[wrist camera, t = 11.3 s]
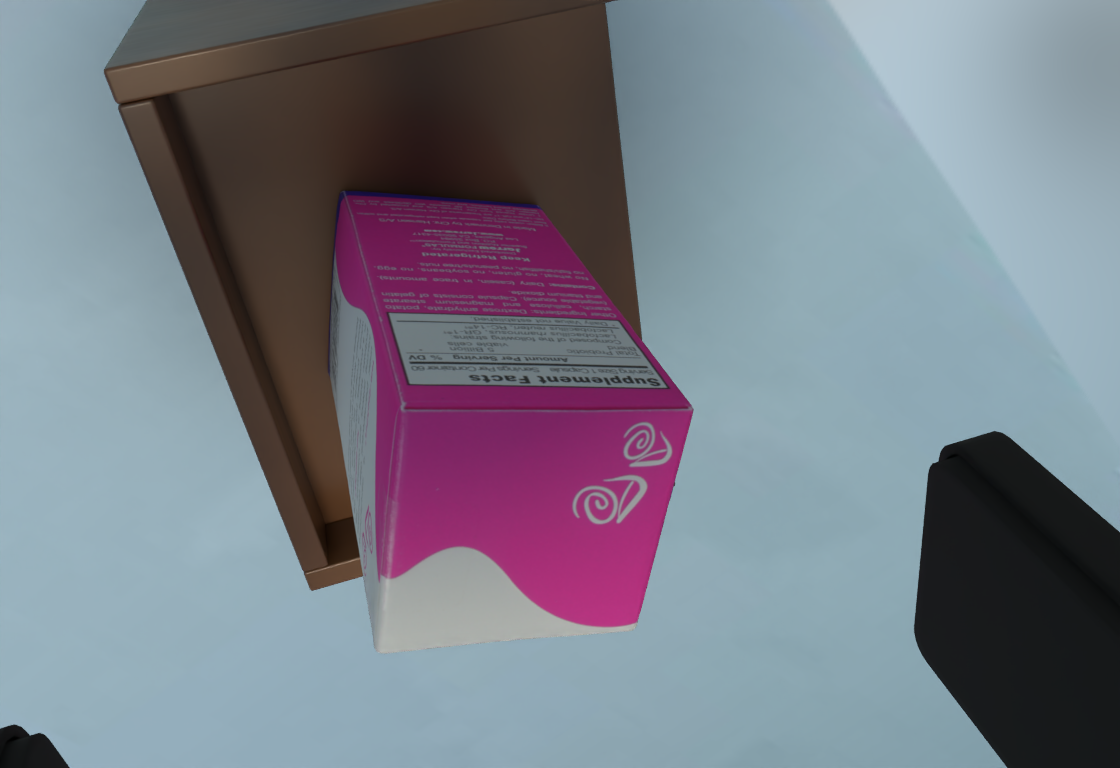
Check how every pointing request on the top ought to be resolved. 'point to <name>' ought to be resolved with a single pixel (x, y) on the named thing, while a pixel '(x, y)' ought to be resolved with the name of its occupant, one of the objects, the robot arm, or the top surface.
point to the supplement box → (493, 425)
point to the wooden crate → (354, 179)
